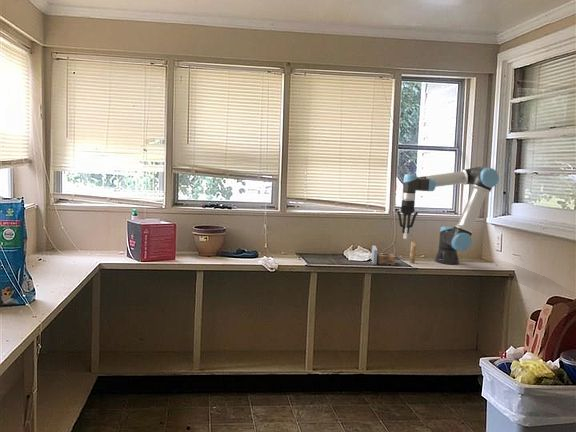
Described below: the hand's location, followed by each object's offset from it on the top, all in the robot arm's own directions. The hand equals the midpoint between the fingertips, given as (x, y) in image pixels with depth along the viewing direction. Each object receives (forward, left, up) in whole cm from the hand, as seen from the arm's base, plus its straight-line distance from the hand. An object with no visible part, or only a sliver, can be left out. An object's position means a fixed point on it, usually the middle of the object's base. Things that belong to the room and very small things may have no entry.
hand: (405, 238), depth 369 cm
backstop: (+18, 0, -16) cm, 24 cm away
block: (+10, 0, -16) cm, 19 cm away
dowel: (-7, -8, -16) cm, 19 cm away
